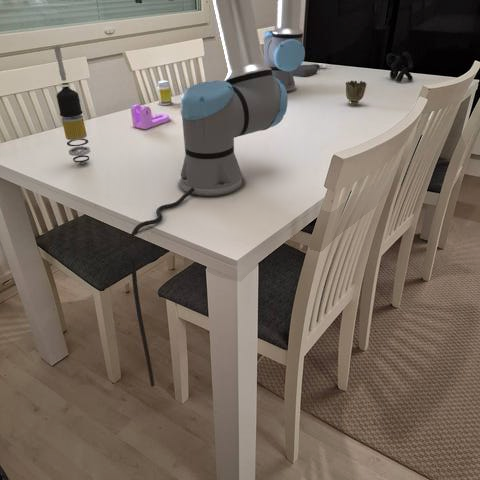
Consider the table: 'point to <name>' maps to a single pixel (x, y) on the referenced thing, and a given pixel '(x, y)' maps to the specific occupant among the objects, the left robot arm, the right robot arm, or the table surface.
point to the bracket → (146, 117)
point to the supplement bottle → (164, 93)
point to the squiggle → (399, 66)
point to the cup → (355, 91)
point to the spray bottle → (308, 69)
